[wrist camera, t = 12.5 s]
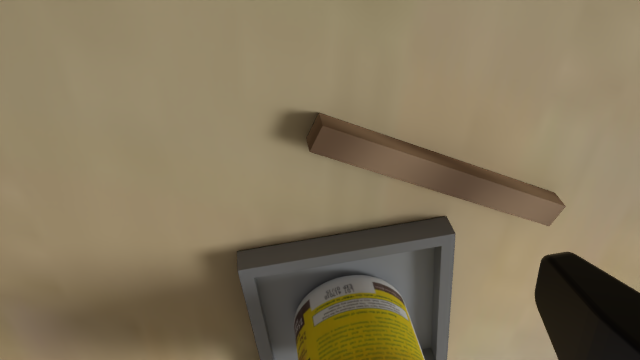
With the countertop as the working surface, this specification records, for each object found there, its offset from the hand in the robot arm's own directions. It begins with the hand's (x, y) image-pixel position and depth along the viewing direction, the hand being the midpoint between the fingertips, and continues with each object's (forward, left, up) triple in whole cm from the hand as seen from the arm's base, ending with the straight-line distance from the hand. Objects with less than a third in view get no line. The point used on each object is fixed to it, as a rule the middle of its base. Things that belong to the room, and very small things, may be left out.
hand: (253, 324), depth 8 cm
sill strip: (+7, -7, -13) cm, 17 cm away
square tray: (+3, -15, -13) cm, 20 cm away
